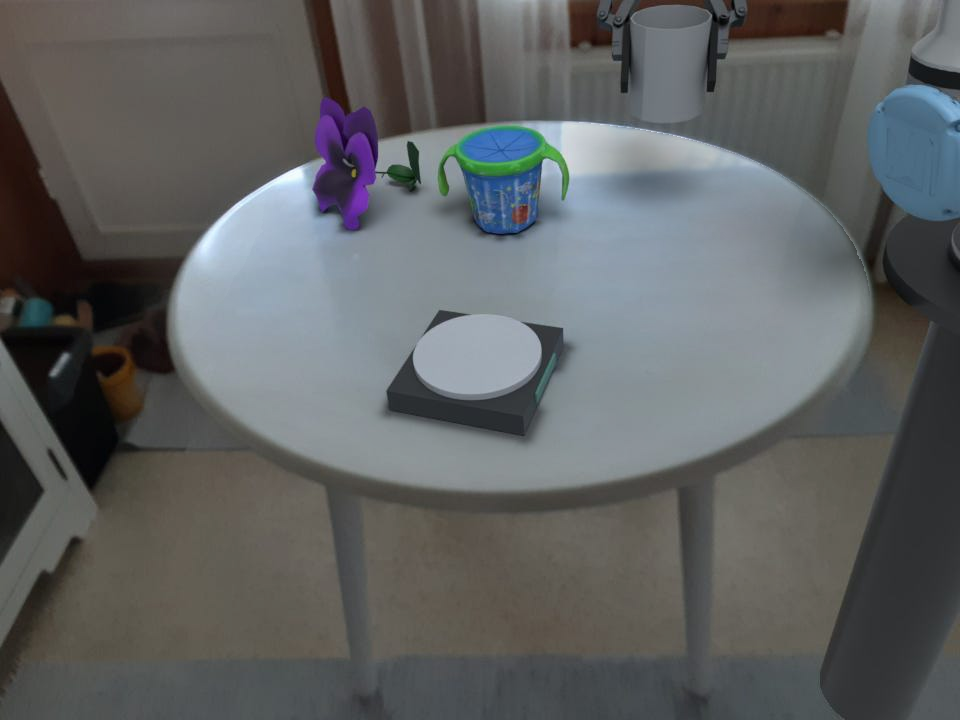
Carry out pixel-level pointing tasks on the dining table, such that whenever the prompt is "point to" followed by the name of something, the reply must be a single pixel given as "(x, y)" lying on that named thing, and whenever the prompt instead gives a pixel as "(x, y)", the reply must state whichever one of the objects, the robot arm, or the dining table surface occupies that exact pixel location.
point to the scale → (478, 371)
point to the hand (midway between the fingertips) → (667, 87)
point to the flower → (352, 161)
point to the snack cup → (503, 175)
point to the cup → (668, 63)
